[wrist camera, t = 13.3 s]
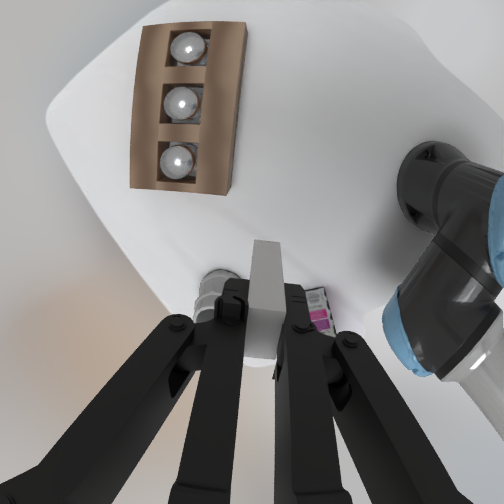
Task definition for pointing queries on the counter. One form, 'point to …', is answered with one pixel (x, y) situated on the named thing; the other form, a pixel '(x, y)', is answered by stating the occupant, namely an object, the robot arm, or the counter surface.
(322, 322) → the candy bar box
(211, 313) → the mug
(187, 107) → the knob
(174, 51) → the knob
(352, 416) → the robot arm
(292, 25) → the counter surface
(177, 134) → the wooden candle holder
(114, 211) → the counter surface
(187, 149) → the knob
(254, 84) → the counter surface
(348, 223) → the counter surface
